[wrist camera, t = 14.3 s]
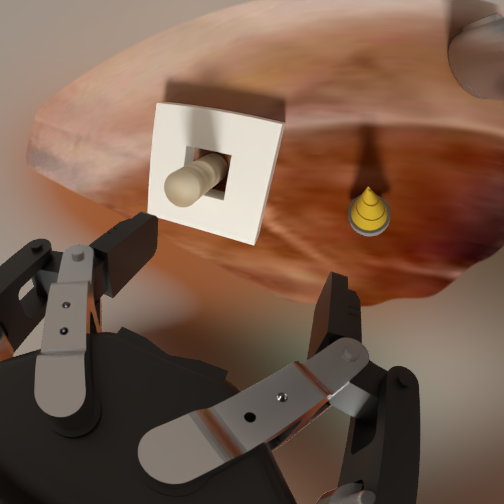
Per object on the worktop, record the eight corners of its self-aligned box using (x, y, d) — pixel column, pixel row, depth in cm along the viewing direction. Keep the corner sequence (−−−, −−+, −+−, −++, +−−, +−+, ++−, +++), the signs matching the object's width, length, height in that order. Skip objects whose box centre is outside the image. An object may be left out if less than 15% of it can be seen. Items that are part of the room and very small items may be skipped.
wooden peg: (202, 150, 37) (165, 167, 28) (230, 156, 37) (200, 175, 28) (198, 178, 39) (162, 202, 31) (225, 184, 39) (196, 211, 30)
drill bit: (342, 224, 38) (332, 188, 29) (368, 199, 38) (366, 157, 29) (369, 252, 36) (369, 221, 27) (396, 224, 35) (403, 187, 26)
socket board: (168, 101, 34) (156, 102, 32) (285, 122, 33) (282, 124, 30) (157, 207, 43) (147, 214, 40) (258, 235, 41) (253, 245, 39)
